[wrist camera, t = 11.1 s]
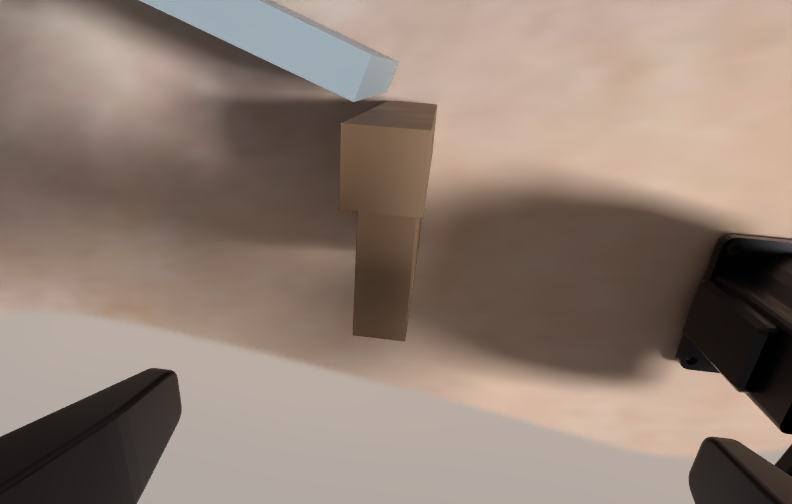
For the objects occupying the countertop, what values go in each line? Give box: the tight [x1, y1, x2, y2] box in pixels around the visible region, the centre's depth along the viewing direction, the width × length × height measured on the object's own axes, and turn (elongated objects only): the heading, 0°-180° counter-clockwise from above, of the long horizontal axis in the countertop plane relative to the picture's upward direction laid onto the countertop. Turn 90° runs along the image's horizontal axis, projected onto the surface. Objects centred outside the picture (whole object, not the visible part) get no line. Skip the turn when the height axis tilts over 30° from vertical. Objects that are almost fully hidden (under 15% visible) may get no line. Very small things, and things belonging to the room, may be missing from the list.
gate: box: [140, 0, 399, 102], centre depth 14 cm, size 12×3×7 cm, turn 66°
